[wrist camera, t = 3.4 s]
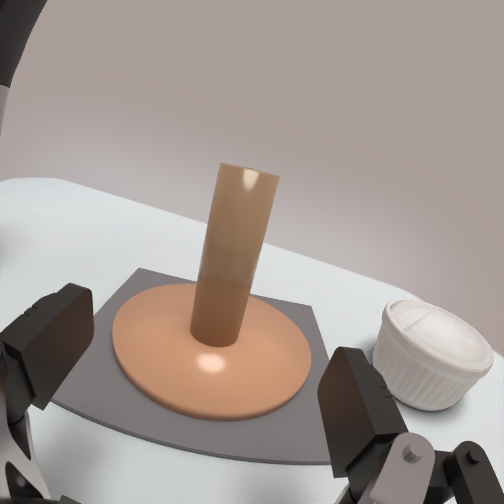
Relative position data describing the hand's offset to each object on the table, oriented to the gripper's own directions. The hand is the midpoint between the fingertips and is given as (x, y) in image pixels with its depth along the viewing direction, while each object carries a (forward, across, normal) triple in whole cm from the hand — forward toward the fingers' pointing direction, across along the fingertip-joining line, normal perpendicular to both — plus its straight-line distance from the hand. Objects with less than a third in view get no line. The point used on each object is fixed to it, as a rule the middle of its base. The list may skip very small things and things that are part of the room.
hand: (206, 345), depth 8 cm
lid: (+9, 0, +7) cm, 12 cm away
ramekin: (+9, -18, +8) cm, 21 cm away
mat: (+9, 0, +8) cm, 12 cm away
